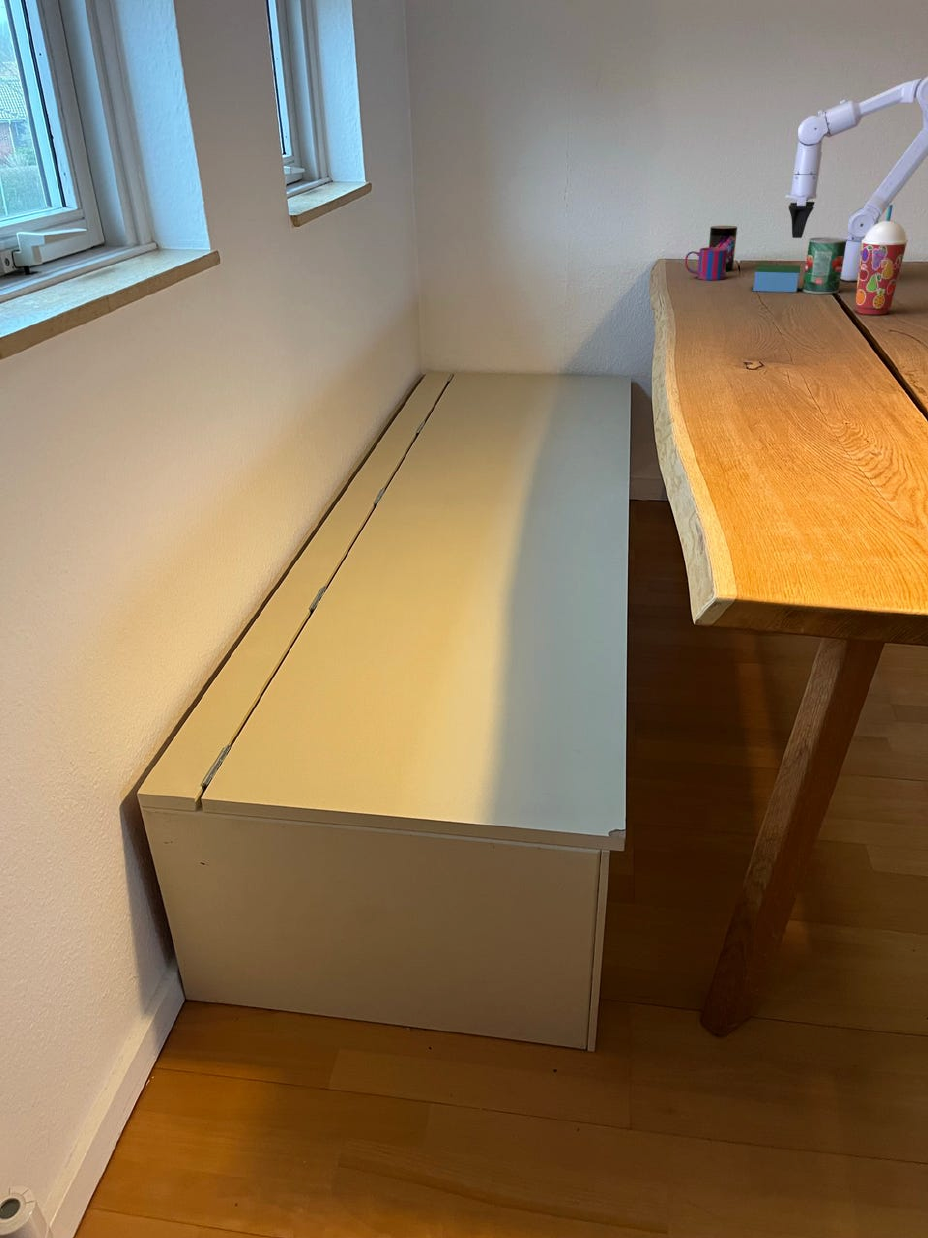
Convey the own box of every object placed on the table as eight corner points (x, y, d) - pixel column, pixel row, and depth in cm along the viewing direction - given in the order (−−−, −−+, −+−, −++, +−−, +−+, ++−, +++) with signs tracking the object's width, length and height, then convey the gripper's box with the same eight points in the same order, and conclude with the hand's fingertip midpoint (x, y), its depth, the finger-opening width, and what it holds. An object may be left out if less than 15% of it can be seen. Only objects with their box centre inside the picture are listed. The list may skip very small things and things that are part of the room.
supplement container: (701, 270, 242) (705, 227, 237) (713, 267, 247) (717, 224, 242) (725, 272, 238) (730, 228, 233) (737, 269, 243) (742, 226, 238)
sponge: (797, 288, 215) (800, 265, 213) (796, 292, 211) (799, 269, 208) (754, 287, 218) (757, 264, 216) (753, 290, 214) (755, 267, 211)
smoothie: (895, 309, 190) (915, 203, 181) (892, 317, 184) (913, 207, 174) (851, 307, 193) (869, 202, 184) (848, 314, 187) (866, 206, 177)
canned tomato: (843, 293, 208) (852, 240, 203) (808, 294, 208) (815, 241, 203) (831, 287, 215) (839, 236, 210) (797, 288, 215) (804, 237, 210)
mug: (725, 280, 228) (728, 250, 224) (683, 279, 230) (685, 250, 226) (724, 275, 233) (727, 247, 230) (683, 275, 235) (686, 246, 232)
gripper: (789, 172, 226) (781, 231, 233) (787, 176, 214) (778, 239, 221) (820, 171, 224) (811, 232, 231) (819, 175, 212) (810, 239, 219)
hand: (797, 235), depth 226 cm, fingers open, 7 cm apart
